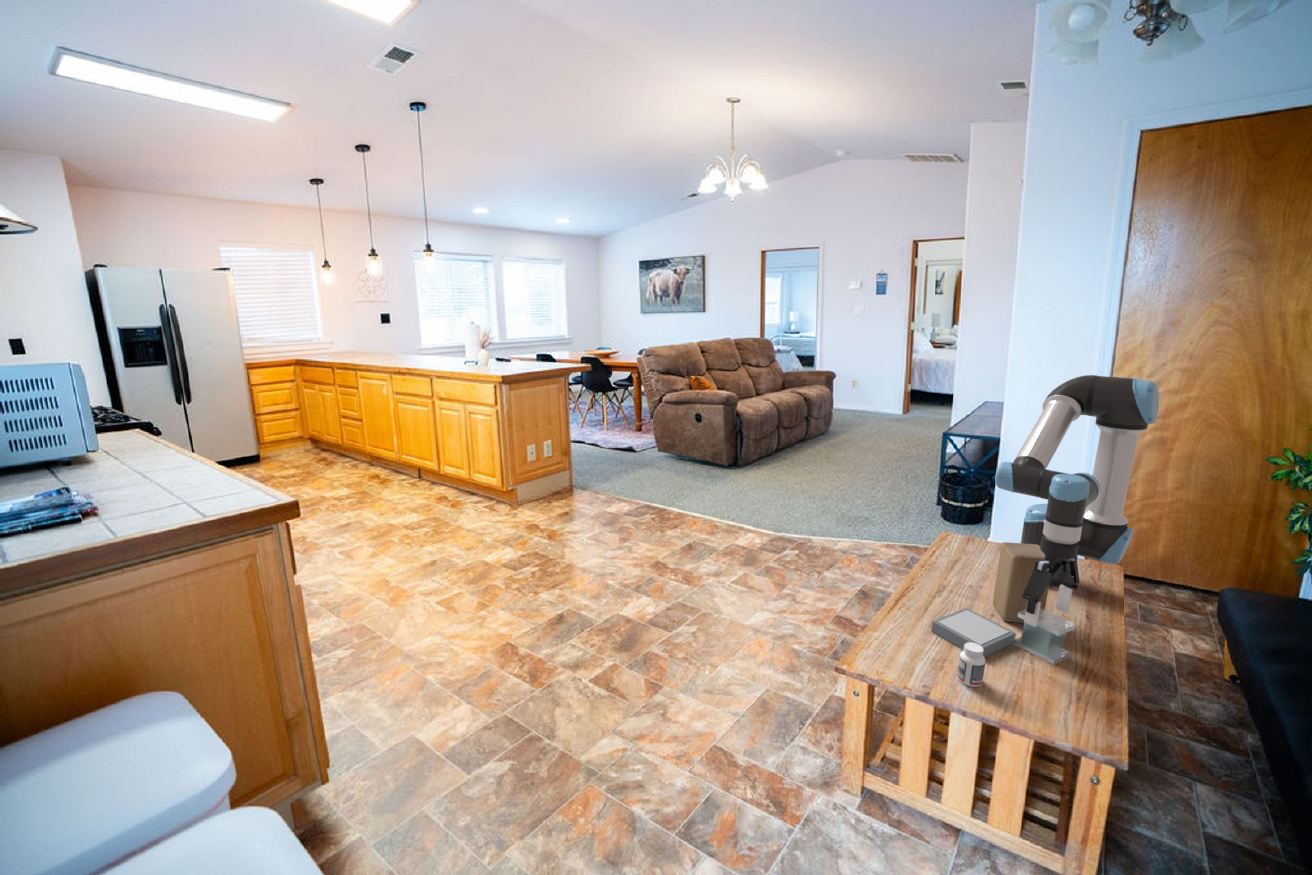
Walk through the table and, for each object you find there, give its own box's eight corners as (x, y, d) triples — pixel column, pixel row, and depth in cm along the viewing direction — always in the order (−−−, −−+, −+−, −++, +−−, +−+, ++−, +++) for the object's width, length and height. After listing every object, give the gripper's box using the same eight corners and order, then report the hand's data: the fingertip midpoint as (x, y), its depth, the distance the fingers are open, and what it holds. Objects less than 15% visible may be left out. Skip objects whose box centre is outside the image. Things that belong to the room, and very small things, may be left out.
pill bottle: (984, 679, 140) (989, 646, 138) (978, 690, 136) (983, 656, 134) (960, 670, 143) (965, 637, 141) (954, 681, 139) (958, 647, 137)
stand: (964, 617, 166) (966, 607, 165) (1014, 643, 154) (1016, 632, 153) (931, 631, 159) (932, 620, 159) (980, 659, 147) (981, 647, 147)
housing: (1029, 636, 157) (1034, 605, 154) (1069, 656, 148) (1075, 624, 146) (1013, 644, 154) (1018, 612, 151) (1053, 665, 145) (1059, 631, 143)
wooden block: (1043, 626, 161) (1055, 558, 156) (1003, 622, 163) (1013, 555, 158) (1028, 607, 171) (1039, 543, 166) (991, 604, 173) (1000, 540, 168)
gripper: (1072, 523, 152) (1059, 598, 157) (1013, 542, 141) (1001, 622, 146) (1105, 533, 146) (1090, 611, 151) (1046, 554, 134) (1032, 637, 139)
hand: (1046, 617), depth 148 cm, fingers open, 13 cm apart
